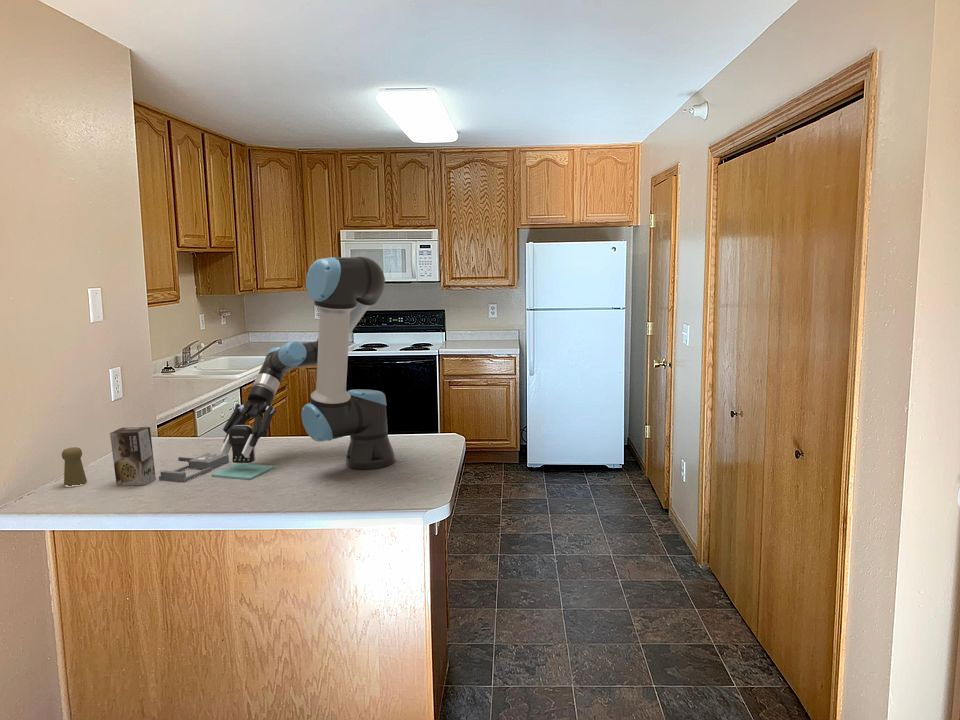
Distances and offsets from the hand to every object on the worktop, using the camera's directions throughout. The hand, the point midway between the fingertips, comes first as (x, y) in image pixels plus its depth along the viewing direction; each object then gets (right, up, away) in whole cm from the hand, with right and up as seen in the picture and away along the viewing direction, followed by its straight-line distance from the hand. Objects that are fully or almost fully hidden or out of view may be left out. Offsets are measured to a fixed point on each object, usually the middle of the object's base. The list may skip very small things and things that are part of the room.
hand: (234, 454), depth 207 cm
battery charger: (+1, -3, +4) cm, 5 cm away
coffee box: (-28, -8, -2) cm, 30 cm away
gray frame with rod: (-19, -6, +9) cm, 22 cm away
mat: (+2, -6, +4) cm, 7 cm away
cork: (-46, -9, -2) cm, 47 cm away
